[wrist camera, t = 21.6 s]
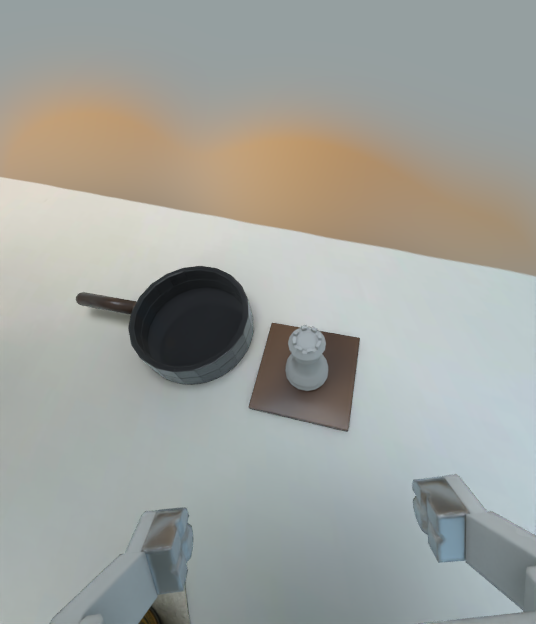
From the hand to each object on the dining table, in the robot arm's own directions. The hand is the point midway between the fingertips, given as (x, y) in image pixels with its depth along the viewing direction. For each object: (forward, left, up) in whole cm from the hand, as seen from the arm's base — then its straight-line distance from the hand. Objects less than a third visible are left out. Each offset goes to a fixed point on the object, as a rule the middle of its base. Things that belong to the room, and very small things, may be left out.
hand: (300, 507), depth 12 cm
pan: (-16, +15, -20) cm, 29 cm away
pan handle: (-26, +15, -18) cm, 35 cm away
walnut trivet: (-2, +12, -20) cm, 24 cm away
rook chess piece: (-2, +12, -20) cm, 23 cm away
